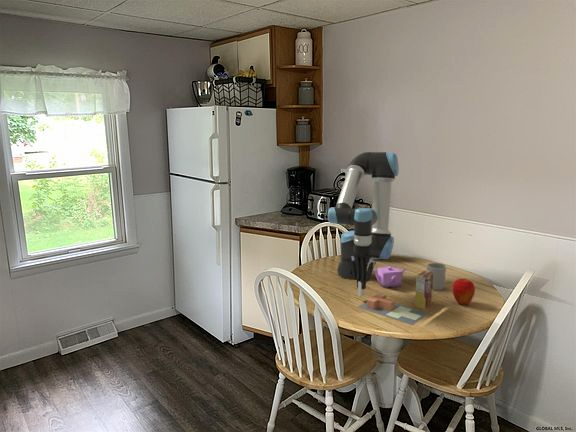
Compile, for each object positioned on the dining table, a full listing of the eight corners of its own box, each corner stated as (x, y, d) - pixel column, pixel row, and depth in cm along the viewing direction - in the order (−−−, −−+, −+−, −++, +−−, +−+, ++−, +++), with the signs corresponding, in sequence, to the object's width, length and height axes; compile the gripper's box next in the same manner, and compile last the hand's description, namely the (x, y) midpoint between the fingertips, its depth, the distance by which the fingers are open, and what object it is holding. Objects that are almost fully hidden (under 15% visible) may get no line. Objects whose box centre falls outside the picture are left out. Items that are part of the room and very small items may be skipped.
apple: (478, 305, 195) (480, 279, 193) (461, 308, 192) (463, 282, 190) (463, 298, 204) (465, 273, 201) (447, 300, 201) (448, 275, 199)
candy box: (423, 302, 200) (424, 269, 196) (432, 304, 197) (434, 271, 194) (414, 308, 193) (416, 275, 190) (423, 311, 190) (425, 277, 187)
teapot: (375, 292, 212) (376, 272, 210) (367, 282, 225) (368, 264, 223) (412, 290, 214) (413, 270, 212) (402, 280, 227) (402, 262, 225)
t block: (366, 307, 192) (366, 299, 192) (379, 300, 199) (379, 293, 199) (386, 313, 186) (386, 305, 185) (398, 306, 193) (398, 298, 192)
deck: (357, 309, 193) (357, 307, 193) (375, 299, 204) (375, 297, 203) (412, 327, 175) (412, 325, 175) (429, 315, 186) (429, 313, 186)
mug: (447, 290, 214) (448, 268, 211) (429, 290, 213) (431, 268, 211) (438, 281, 225) (439, 260, 223) (421, 281, 225) (422, 260, 223)
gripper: (345, 243, 196) (344, 293, 201) (370, 248, 188) (368, 301, 192) (355, 239, 202) (353, 289, 206) (380, 244, 193) (378, 296, 198)
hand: (361, 295), depth 199 cm, fingers closed
